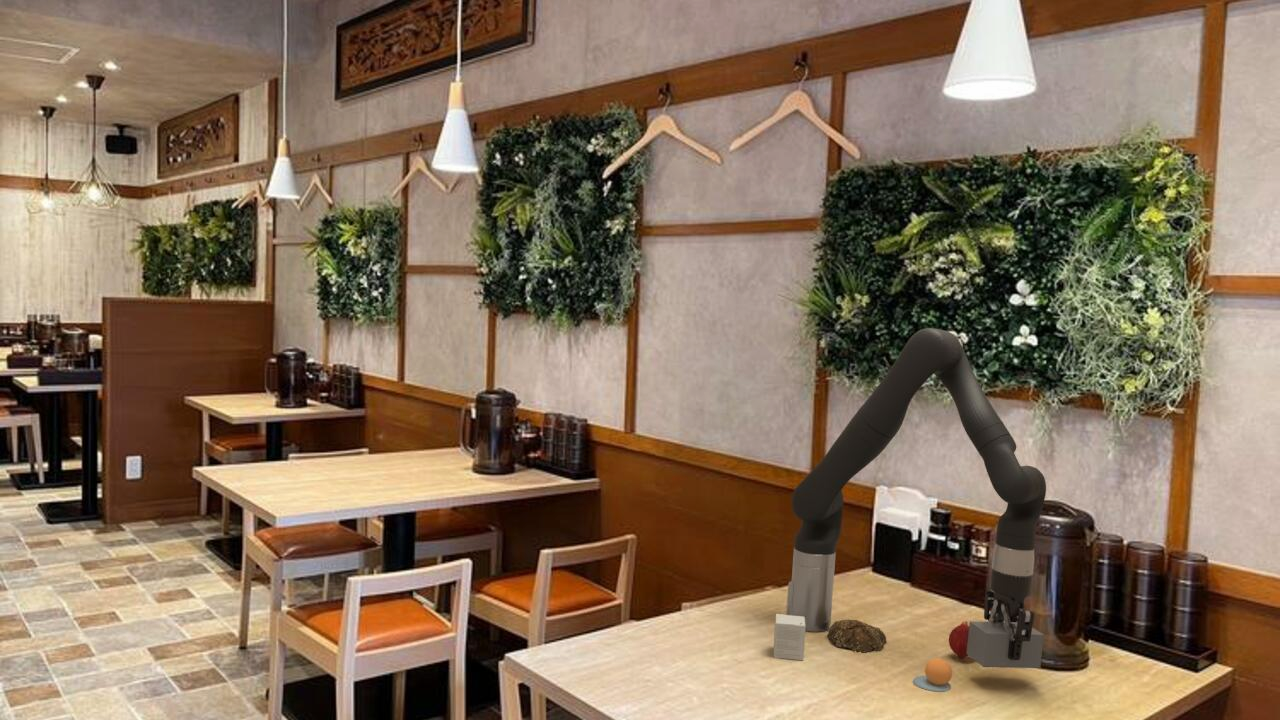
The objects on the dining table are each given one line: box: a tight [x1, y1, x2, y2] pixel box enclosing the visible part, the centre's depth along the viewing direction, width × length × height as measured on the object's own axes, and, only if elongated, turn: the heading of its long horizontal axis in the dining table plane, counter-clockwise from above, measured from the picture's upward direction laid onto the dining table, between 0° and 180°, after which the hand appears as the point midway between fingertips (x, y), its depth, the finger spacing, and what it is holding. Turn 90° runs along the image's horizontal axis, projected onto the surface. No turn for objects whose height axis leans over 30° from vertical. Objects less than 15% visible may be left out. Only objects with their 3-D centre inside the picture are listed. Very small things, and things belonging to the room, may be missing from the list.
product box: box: [773, 613, 806, 661], centre depth 196 cm, size 6×6×7 cm
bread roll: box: [827, 619, 888, 654], centre depth 206 cm, size 13×12×5 cm
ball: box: [924, 657, 953, 685], centre depth 185 cm, size 5×5×5 cm
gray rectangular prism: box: [967, 620, 1045, 669], centre depth 187 cm, size 12×7×7 cm, turn 99°
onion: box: [948, 619, 969, 659], centre depth 199 cm, size 6×6×8 cm
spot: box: [912, 675, 952, 693], centre depth 185 cm, size 7×7×1 cm
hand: (1003, 652), depth 187 cm, fingers closed on gray rectangular prism, 6 cm apart
